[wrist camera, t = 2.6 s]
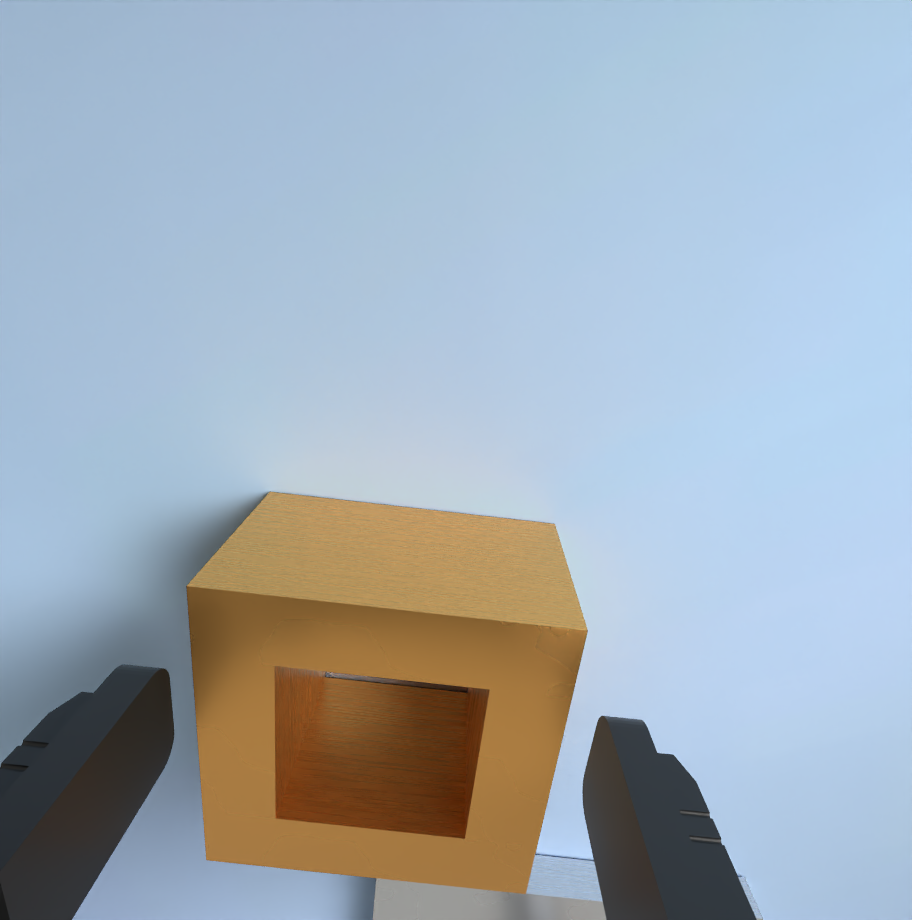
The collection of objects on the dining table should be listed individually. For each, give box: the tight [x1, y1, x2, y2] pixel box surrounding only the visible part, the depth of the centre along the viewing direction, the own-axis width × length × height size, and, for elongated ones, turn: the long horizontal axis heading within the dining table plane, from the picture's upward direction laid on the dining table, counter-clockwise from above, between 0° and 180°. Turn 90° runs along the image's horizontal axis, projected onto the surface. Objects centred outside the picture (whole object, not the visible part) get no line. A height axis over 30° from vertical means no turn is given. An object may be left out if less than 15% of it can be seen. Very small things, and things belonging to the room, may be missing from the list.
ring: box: [186, 492, 588, 894], centre depth 11 cm, size 6×6×4 cm
